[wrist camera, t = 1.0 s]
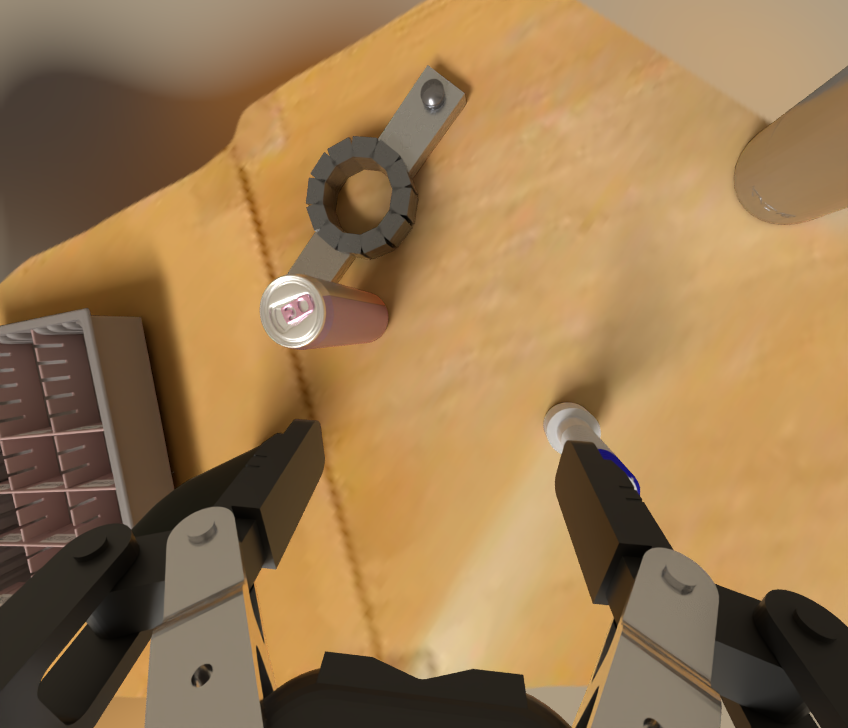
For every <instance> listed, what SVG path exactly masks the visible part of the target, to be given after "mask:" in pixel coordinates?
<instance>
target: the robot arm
mask: <svg viewBox="0 0 848 728" xmlns="http://www.w3.org/2000/svg"><path fill="white" fill-rule="evenodd" d="M734 187H735V191H736V194H737V197H738V199H739V201H740V202H741V204H742V206H743V207H744V208H745V209H746V210H747V211H748V212H749V213H750V214H751V215H753V216H755V217H757V218H758V219H760V220H763V221H766V222H769V223H773V224H783V225H788V224H799V223H802V222H806V221H810V220H813V219H816V218H819V217H822V216H825V215H827V214H830V213H833V212H836V211H839V210H842V209H845V208H847V207H848V66H847V67H846V68H844V69H843V70H842V71H840V72H839V73H838V74H836V75H835V76H834V77H833V78H831V79H830V80H828V81H827V82H826V83H825V84H823V85H822V86H820V87H819V88H818V89H817V90H815V91H814V92H813V93H811V94H810V95H809V96H807V97H806V98H805V99H803V100H802V101H801V102H799V103H798V104H797V105H795V106H794V107H793V108H791V109H790V110H789V111H787V112H786V113H785V114H783V115H782V116H781V117H779V118H778V119H777V120H776V121H774V122H773V123H772V124H770V125H769V126H768V127H766V128H765V129H764V130H762V131H761V132H760V133H759V134H757V135H756V136H755V137H754V138H753V139H752V140H751V141H750V142H749V143H748V144H747V146H746V147H745V149H744V150H743V152H742V153H741V155H740V157H739V160H738V162H737V165H736V169H735V174H734ZM324 462H325V456H324V448H323V440H322V433H321V426H320V423H319V421H315V420H302V419H295V420H293V422H292V423H291V424H290V426H289V427H288V428H287V430H286V431H285V432H284V434H281V433H277V434H275V435H274V436H272V437H271V438H269V439H268V440H266V441H265V442H264V443H262V445H261V446H260V447H259V449H258V450H257V451H256V452H255V454H254V456H253V457H251V459H250V460H249V461H248V463H247V464H246V467H245V468H243V469H242V470H241V471H240V473H239V474H238V475H237V477H236V478H235V479H234V480H233V482H232V483H231V484H230V485H229V487H228V488H227V489H226V491H225V492H224V493H223V494H222V496H221V497H220V498H219V499H218V501H217V502H216V503H215V505H214V506H213V507H210V508H205V509H202V510H199V511H197V512H195V513H193V514H191V515H189V516H188V517H186V518H185V519H183V520H182V521H181V522H180V523H179V524H178V525H177V526H176V527H175V528H174V529H173V530H171V531H166V532H160V533H155V534H150V535H144V536H139V537H134V535H133V533H132V531H131V529H130V528H129V527H128V526H127V525H125V524H120V523H112V524H106V525H102V526H99V527H96V528H94V529H91V530H89V531H87V532H85V533H83V534H81V535H79V536H78V537H76V538H75V539H73V540H72V541H70V542H69V543H68V544H66V545H65V546H64V547H63V548H62V549H61V550H60V551H59V552H58V553H57V554H55V555H54V556H53V557H52V558H51V559H50V560H49V561H48V562H47V563H46V564H45V565H44V566H43V567H42V568H41V569H40V570H39V571H38V572H36V573H35V574H34V575H33V576H32V577H31V578H30V579H29V580H28V581H27V582H26V583H25V584H24V585H23V586H22V587H21V588H20V589H19V590H17V591H16V592H15V593H14V594H13V595H12V596H11V597H10V598H9V599H8V600H7V601H6V602H5V603H4V604H3V605H2V606H1V607H0V728H93V727H94V726H95V725H96V723H97V722H98V720H99V719H100V717H101V715H102V714H103V712H104V711H105V709H106V708H107V706H108V704H109V703H110V701H111V700H112V698H113V697H114V695H115V693H116V692H117V690H118V689H119V687H120V686H121V684H122V683H123V681H124V679H125V678H126V676H127V675H128V673H129V672H130V670H131V668H132V667H133V665H134V664H135V662H136V661H137V659H138V657H139V656H140V654H141V653H142V651H143V650H144V648H145V647H146V645H147V643H148V642H149V640H150V639H151V644H150V658H149V672H148V686H147V702H146V715H145V728H720V724H721V709H722V708H721V699H722V701H723V703H724V705H725V707H726V709H727V711H728V713H729V716H730V717H731V720H732V721H733V724H734V726H735V728H818V726H817V725H816V723H815V721H814V720H813V718H812V717H811V716H810V714H809V712H811V713H812V714H813V715H814V717H815V719H816V720H817V722H818V723H819V725H820V727H821V728H848V627H847V626H846V625H845V624H844V623H843V622H842V621H841V620H839V619H838V618H837V617H836V616H835V615H833V614H832V613H831V612H829V611H828V610H827V609H825V608H824V607H822V606H821V605H819V604H817V603H816V602H814V601H812V600H810V599H808V598H807V597H804V596H802V595H800V594H797V593H794V592H791V591H787V590H779V589H778V590H772V591H770V592H768V593H767V594H766V596H765V597H764V598H763V599H762V601H760V600H757V599H754V598H752V597H749V596H746V595H744V594H741V593H738V592H735V591H733V590H730V589H727V588H724V587H722V586H719V585H717V584H714V582H713V581H712V579H711V578H710V576H709V575H708V574H707V573H706V572H705V571H704V570H703V569H702V568H701V567H700V566H699V565H698V564H697V563H695V562H694V561H693V560H691V559H690V558H688V557H686V556H685V555H683V554H681V553H679V552H676V551H674V550H673V548H672V547H671V545H670V544H669V542H668V540H667V539H666V537H665V536H664V534H663V532H662V531H661V529H660V527H659V526H658V524H657V523H656V521H655V519H654V518H653V516H652V515H651V513H650V511H649V510H648V508H647V506H646V505H645V503H644V502H642V498H641V497H640V495H639V494H638V492H637V490H635V489H634V485H633V484H632V482H631V481H630V479H629V477H628V476H627V474H626V473H625V472H624V471H623V470H622V469H621V468H620V467H619V466H617V465H616V464H615V463H614V462H613V461H612V460H606V459H603V457H602V456H601V454H600V452H599V450H598V449H597V447H596V445H595V444H594V443H593V442H587V441H574V440H567V441H566V442H565V444H564V447H563V451H562V454H561V458H560V462H559V466H558V469H557V473H556V477H555V491H556V496H557V499H558V502H559V505H560V508H561V511H562V514H563V517H564V520H565V523H566V526H567V528H568V531H569V534H570V537H571V540H572V543H573V546H574V549H575V552H576V555H577V558H578V561H579V564H580V567H581V570H582V573H583V576H584V579H585V582H586V584H587V587H588V590H589V593H590V596H591V599H592V602H593V604H602V605H609V606H610V609H611V611H612V614H613V619H612V621H611V623H610V626H609V629H608V632H607V635H606V637H605V640H604V643H603V646H602V649H601V651H600V654H599V657H598V660H597V663H596V665H595V668H594V671H593V674H592V677H591V679H590V682H589V685H588V688H587V690H586V693H585V695H584V698H583V700H582V703H581V705H580V708H579V710H578V712H577V714H576V717H575V720H574V722H573V725H572V727H571V726H570V725H569V724H568V723H567V722H566V721H565V720H564V719H563V718H562V717H561V716H560V715H558V714H557V713H556V712H555V711H553V710H552V709H551V708H550V707H548V706H547V705H546V704H544V703H543V702H541V701H539V700H538V699H536V698H535V697H533V696H531V695H529V694H527V693H526V691H525V684H524V677H523V675H520V674H512V673H503V672H495V671H486V670H478V669H471V670H466V671H462V672H457V673H452V674H448V675H443V676H439V677H434V678H429V679H418V678H415V677H413V676H411V675H409V674H407V673H405V672H403V671H401V670H398V669H396V668H394V667H392V666H390V665H388V664H386V663H384V662H382V661H380V660H377V659H375V658H373V657H367V656H359V655H350V654H342V653H333V652H325V654H324V657H323V661H322V664H321V668H320V669H315V670H312V671H309V672H306V673H304V674H301V675H299V676H297V677H295V678H293V679H291V680H289V681H288V682H286V683H285V684H283V685H282V686H280V687H279V688H277V686H276V682H275V677H274V673H273V669H272V665H271V661H270V657H269V653H268V648H267V642H266V637H265V632H264V626H263V621H262V615H261V610H260V605H259V599H258V594H257V589H256V584H255V580H256V578H257V576H258V574H259V572H260V570H261V568H268V569H277V566H278V564H279V562H280V560H281V558H282V556H283V554H284V552H285V550H286V548H287V546H288V544H289V542H290V540H291V537H292V535H293V533H294V531H295V529H296V527H297V525H298V523H299V521H300V519H301V517H302V515H303V513H304V511H305V508H306V506H307V504H308V502H309V500H310V498H311V496H312V494H313V492H314V490H315V488H316V486H317V484H318V482H319V479H320V477H321V475H322V472H323V469H324ZM85 622H87V625H86V626H85V628H84V629H83V630H82V631H81V633H80V634H79V635H78V636H77V637H76V639H75V640H74V641H73V642H72V644H71V645H70V646H69V647H68V649H67V650H66V651H65V652H64V654H63V655H62V656H61V657H60V658H59V660H58V661H57V662H56V663H55V665H54V666H53V667H52V668H51V670H50V671H49V672H48V673H47V675H46V676H45V677H44V678H43V680H42V681H41V679H42V677H43V675H44V673H45V672H46V670H47V669H48V667H49V666H50V665H51V664H52V662H53V661H54V660H55V659H56V657H57V656H58V655H59V654H60V653H61V651H62V650H63V649H64V648H65V646H66V645H67V644H68V643H69V641H70V640H71V639H72V638H73V637H74V635H75V634H76V633H77V632H78V630H79V629H80V628H81V627H82V626H83V624H84V623H85ZM40 681H41V682H40Z"/></svg>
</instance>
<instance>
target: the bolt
mask: <svg viewBox="0 0 848 728" xmlns="http://www.w3.org/2000/svg"><path fill="white" fill-rule="evenodd" d="M544 431H545V434H546V436H547V438H548V441H549V443H550V444H551V446H552V447H553V448H554V449H555V450H556V451H557V452H559V453H560V454H562V451H563V447H564V444H565V442H566V441H567V440H574V441H587V442H593V443H594V444H595V445H596V447H597V449H598V450H599V452H600V454H601V456H602V457H603V459H606V460H612V461H613V462H614V463H615V464H616V465H617V466H619V467H620V468H621V469H622V470H623V471H624V472H625V473H626V474H627V476H628V477H629V479H630V481H631V482H632V484H633V485H634V489H635V490H637V492H638V494H639V495H640V486H639V483H638V481H637V479H636V478H635V476H634V475H633V474H632V473H631V472H630V471H629V470H628V469H627V468H626V467H625V465H624V464H623V463H622V462H621V461H620V460H619V459H618V458H617V457H616V455H615V454H614V453H613V452H612V451H611V450H610V449H609V448H608V447H607V445H606V444H605V443H604V442H603V441H602V440H601V439H600V437H601V430H600V426H599V423H598V422H597V420H596V419H595V417H594V416H592V415H591V414H590V413H589V412H588V411H587V410H586V409H585V408H584V407H582V406H580V405H578V404H576V403H571V402H564V403H560V404H557V405H555V406H554V407H552V408H551V409H550V410H549V411H548V412H547V414H546V416H545V418H544Z"/></svg>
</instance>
